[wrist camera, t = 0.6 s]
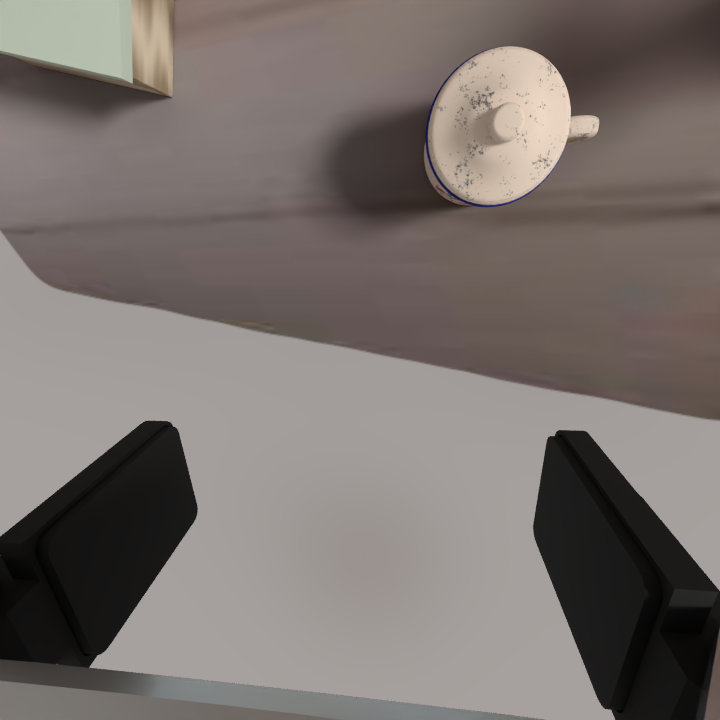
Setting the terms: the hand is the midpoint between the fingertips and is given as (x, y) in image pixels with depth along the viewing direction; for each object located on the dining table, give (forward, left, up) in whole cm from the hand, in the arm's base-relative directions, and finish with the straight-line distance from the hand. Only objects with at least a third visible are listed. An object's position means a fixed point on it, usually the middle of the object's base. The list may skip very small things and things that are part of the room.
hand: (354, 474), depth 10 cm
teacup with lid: (-13, +6, -30) cm, 33 cm away
